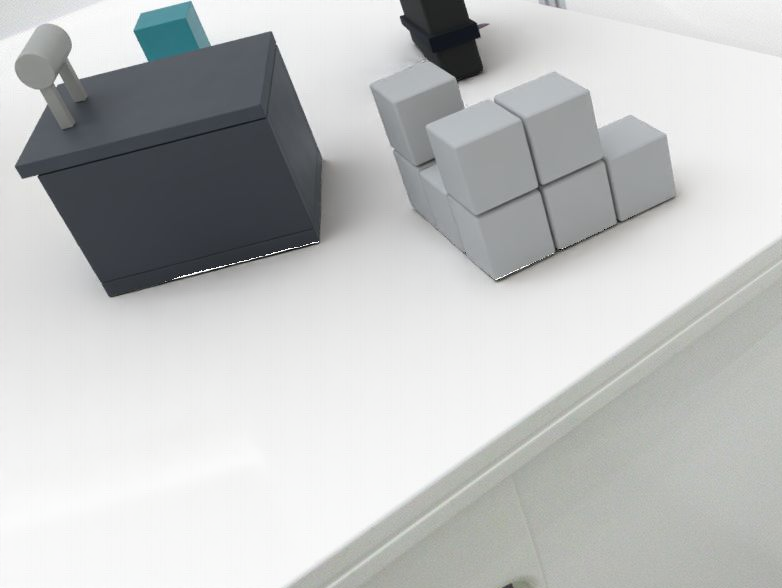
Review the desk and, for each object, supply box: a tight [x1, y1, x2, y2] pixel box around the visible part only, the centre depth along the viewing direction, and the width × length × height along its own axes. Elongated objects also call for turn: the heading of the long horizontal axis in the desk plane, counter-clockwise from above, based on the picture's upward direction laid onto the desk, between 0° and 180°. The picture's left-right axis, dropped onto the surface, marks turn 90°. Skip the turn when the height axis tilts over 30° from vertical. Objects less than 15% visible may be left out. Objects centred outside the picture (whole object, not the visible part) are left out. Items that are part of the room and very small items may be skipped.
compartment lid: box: [14, 22, 277, 180], centre depth 63 cm, size 14×12×5 cm
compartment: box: [37, 44, 323, 298], centre depth 67 cm, size 13×12×8 cm
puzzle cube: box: [369, 60, 677, 280], centre depth 62 cm, size 12×12×8 cm
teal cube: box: [132, 0, 212, 62], centre depth 92 cm, size 4×4×4 cm
